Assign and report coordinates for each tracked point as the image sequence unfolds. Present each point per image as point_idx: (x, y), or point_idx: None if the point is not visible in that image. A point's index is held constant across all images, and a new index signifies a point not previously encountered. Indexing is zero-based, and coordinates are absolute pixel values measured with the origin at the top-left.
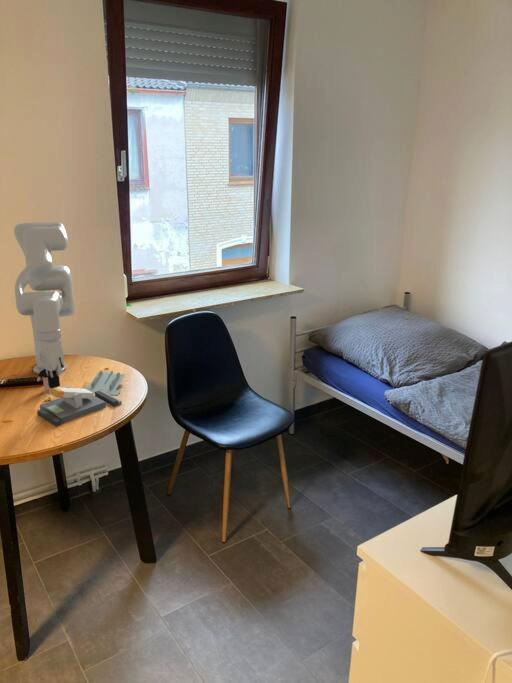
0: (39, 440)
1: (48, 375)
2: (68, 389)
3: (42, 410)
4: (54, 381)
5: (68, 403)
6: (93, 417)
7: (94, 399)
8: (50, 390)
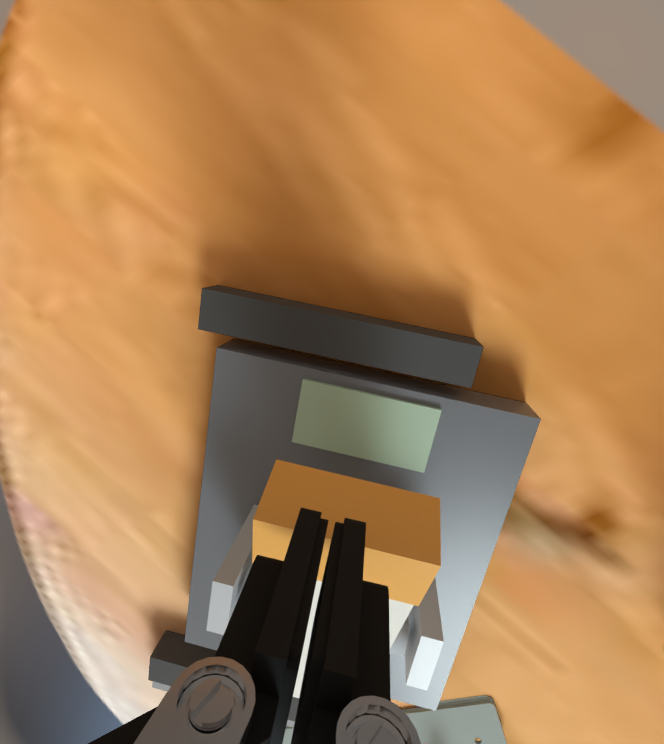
0: (147, 79)
1: (341, 710)
2: None
3: (445, 366)
4: (235, 615)
5: None
6: (149, 492)
7: None
8: (413, 523)
